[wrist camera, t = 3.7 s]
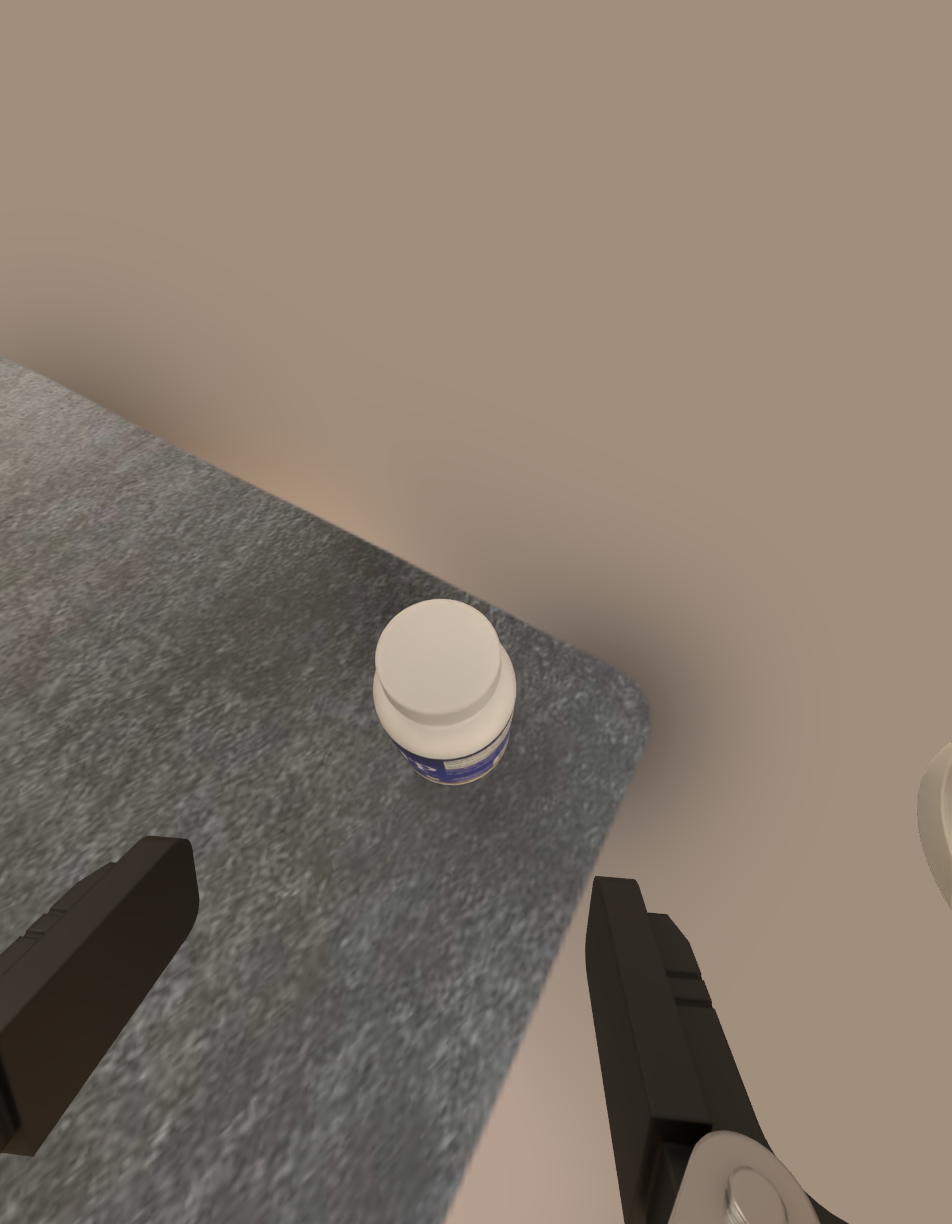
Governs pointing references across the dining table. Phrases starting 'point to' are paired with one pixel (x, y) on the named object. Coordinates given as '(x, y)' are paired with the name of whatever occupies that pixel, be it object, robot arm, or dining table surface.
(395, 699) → the pill bottle
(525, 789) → the dining table surface
